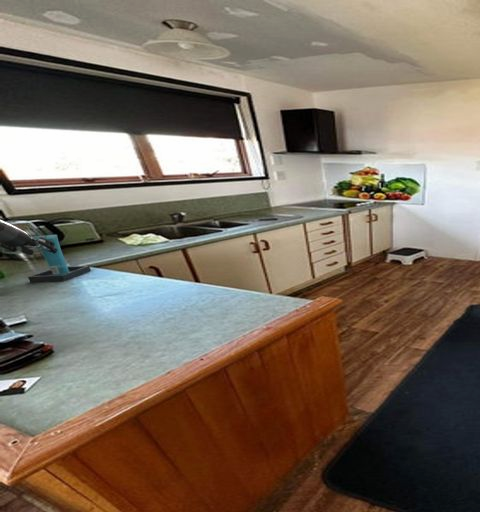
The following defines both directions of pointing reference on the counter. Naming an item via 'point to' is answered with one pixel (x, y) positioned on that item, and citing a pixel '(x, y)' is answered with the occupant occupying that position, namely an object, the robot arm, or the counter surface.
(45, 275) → the tray
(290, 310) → the counter surface
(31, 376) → the counter surface
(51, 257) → the tube
